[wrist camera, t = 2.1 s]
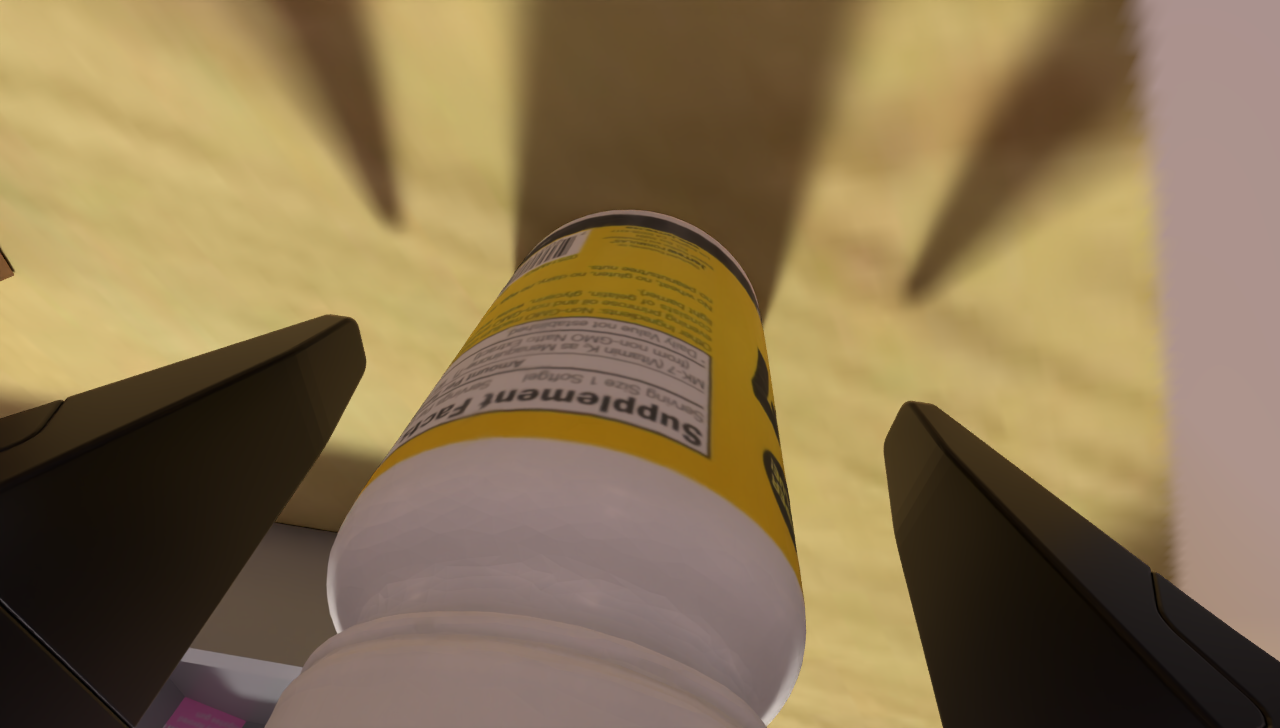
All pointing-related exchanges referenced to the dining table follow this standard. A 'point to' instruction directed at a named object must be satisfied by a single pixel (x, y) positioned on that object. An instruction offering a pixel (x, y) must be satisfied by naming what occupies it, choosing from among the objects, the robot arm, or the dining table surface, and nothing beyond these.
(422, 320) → the dining table surface
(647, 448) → the supplement bottle
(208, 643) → the tray
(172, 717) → the gum box
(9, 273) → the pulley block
